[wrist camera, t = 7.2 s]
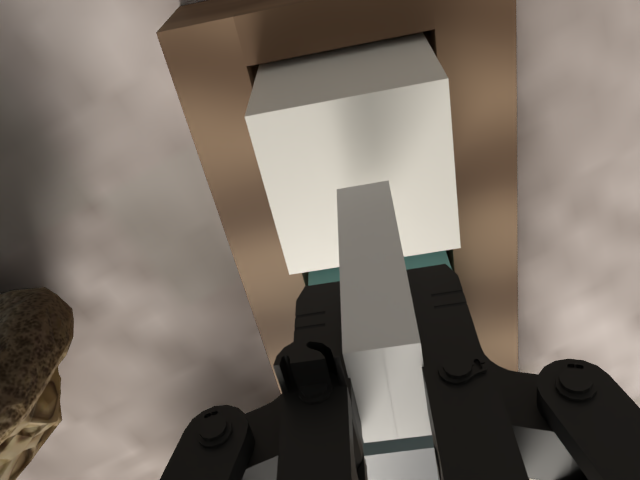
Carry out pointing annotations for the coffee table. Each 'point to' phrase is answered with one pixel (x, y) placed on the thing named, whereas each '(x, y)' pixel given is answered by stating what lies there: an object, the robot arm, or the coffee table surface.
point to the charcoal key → (401, 459)
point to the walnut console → (334, 33)
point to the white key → (355, 144)
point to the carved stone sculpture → (30, 372)
